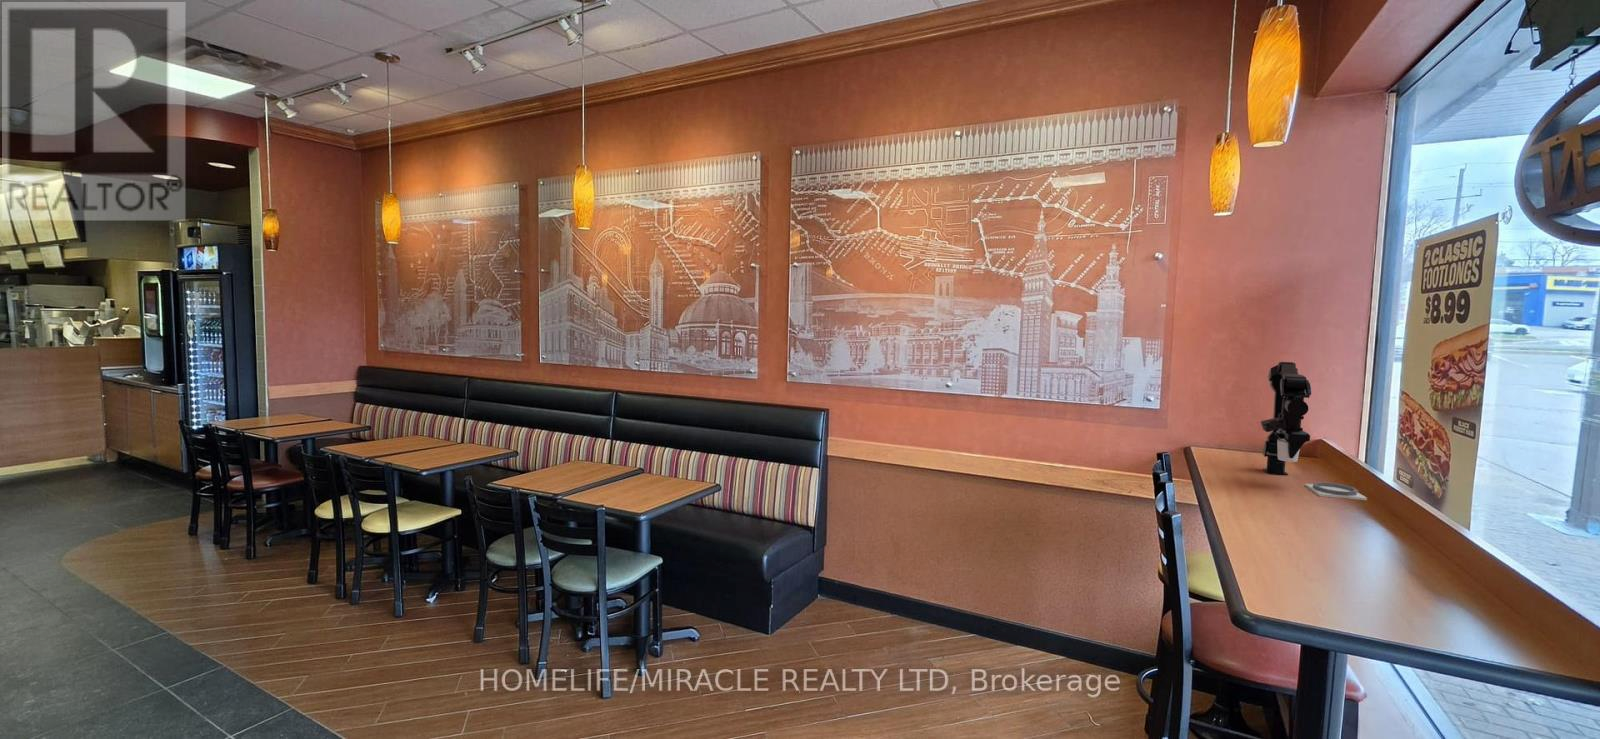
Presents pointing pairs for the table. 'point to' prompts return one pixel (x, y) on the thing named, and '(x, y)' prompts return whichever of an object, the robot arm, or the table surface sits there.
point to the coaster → (1335, 490)
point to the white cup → (1285, 451)
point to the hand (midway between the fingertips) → (1287, 455)
